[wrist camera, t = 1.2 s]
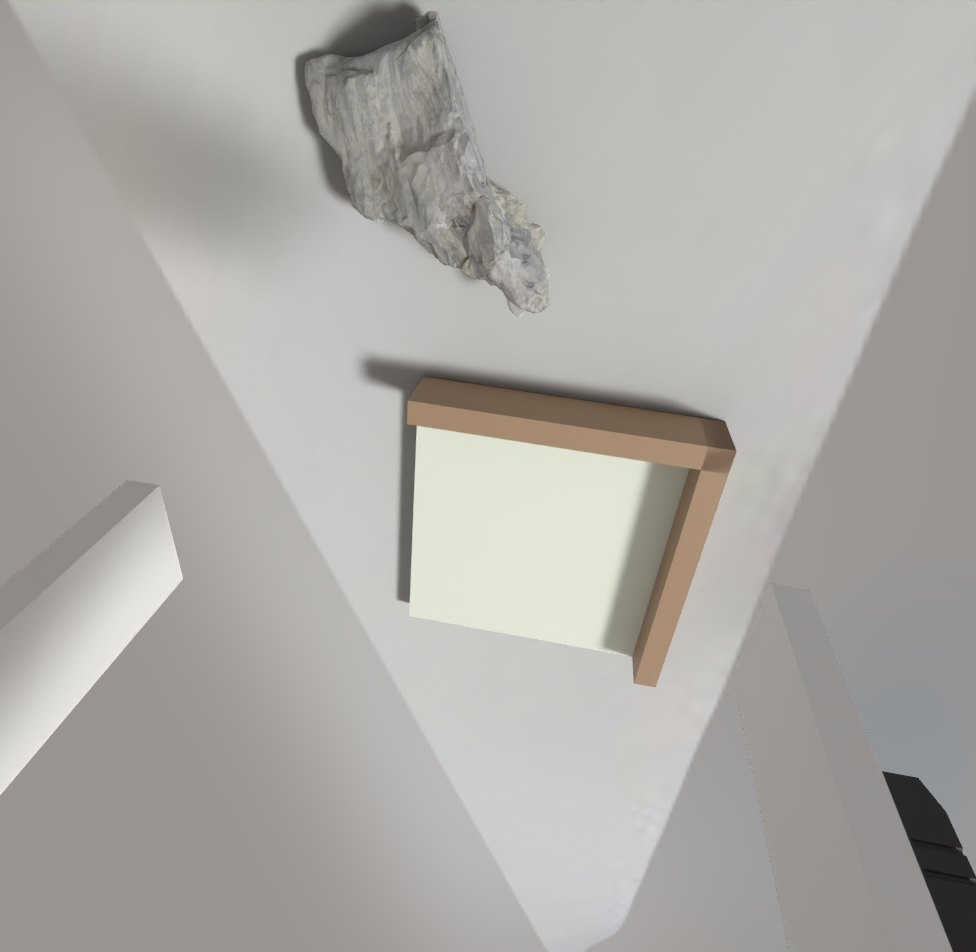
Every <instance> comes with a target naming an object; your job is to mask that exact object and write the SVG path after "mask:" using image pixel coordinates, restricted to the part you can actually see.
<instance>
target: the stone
mask: <svg viewBox="0 0 976 952" xmlns="http://www.w3.org/2000/svg"><path fill="white" fill-rule="evenodd" d="M415 26H416V32H414V33H412V34H411V35H410V36H408V37H406V38H404V39H402V40H399V41H396V42H393V43H390V44H388V45H386V46H383V47H381V48H379V49H378V50H376V51H373V52H371V53H368V54H366V55H363V56H361V57H344V56H340V55H334V54H325V55H323V56H321V57H316V58H312V59H308V60H307V62H306V63H305V64H304V79H305V85H306V88H307V90H308V92H309V95H310V99H311V103H312V114H313V117H314V119H315V121H316V123H317V125H318V131H319V134H320V135H321V136H322V137H323V138H324V139H325V140H326V141H327V143H328V144H329V145H330V146H331V147H332V148H333V149H334V150H335V152H336V153H337V155H338V156H339V158H340V160H341V161H342V170H343V175H344V178H345V182H346V186H347V189H348V192H349V193H350V200H351V203H352V206H353V207H354V208H355V209H356V210H357V211H358V212H359V213H360V214H362V215H363V216H364V217H365V218H367V219H370V220H372V221H376V222H385V221H392V220H395V221H396V223H397V224H398V225H400V226H402V227H404V228H405V229H406V230H407V231H408V232H410V233H412V234H413V235H414V237H415V238H416V240H417V241H418V242H419V243H420V244H421V245H422V246H423V247H424V248H425V249H426V250H427V251H428V252H429V253H432V254H433V255H434V256H435V257H436V258H437V259H439V261H440V262H441V263H443V264H444V265H449V266H452V267H453V268H460V269H461V270H462V272H463V273H464V274H466V275H468V276H470V277H472V278H473V279H479V280H486V281H487V282H488V283H489V284H490V285H495V286H497V287H498V288H499V289H500V290H502V291H503V293H504V295H505V296H506V298H507V303H508V306H509V309H510V311H511V312H512V313H513V314H515V315H516V316H517V317H521V316H522V315H523V313H524V312H525V311H529V312H532V313H536V314H537V313H539V312H541V311H542V310H544V309H545V308H547V307H548V306H549V303H548V302H549V298H548V288H549V287H548V278H549V271H548V269H547V267H546V265H545V264H544V262H543V260H542V257H541V254H540V251H541V249H542V245H543V242H544V239H545V234H544V232H543V230H542V228H541V226H539V225H536V224H534V223H532V222H530V221H528V219H527V215H526V206H525V204H524V201H522V200H520V199H518V198H516V197H514V196H513V195H512V194H511V193H510V192H509V191H503V190H498V189H497V188H496V187H495V185H493V184H491V183H490V181H489V180H488V179H487V176H486V171H485V166H484V161H483V159H482V157H481V154H480V151H479V148H478V146H477V143H476V134H475V128H474V126H473V124H472V121H471V118H470V114H469V110H468V107H467V104H466V101H465V97H464V93H463V90H462V87H461V84H460V81H459V79H458V76H457V72H456V69H455V66H454V64H453V61H452V58H451V56H450V53H449V50H448V48H447V45H446V41H445V37H444V35H443V30H442V26H441V22H440V19H439V15H438V12H435V11H429V12H427V13H426V14H425V15H423V16H419V17H418V18H416V19H415Z"/></svg>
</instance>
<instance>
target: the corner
mask: <svg viewBox="0 0 976 952" xmlns="http://www.w3.org/2000/svg"><path fill="white" fill-rule="evenodd" d="M407 424H409V425H416V426H417V432H416V457H415V482H414V507H413V532H412V557H411V582H410V607H409V616H412V617H417V618H423V619H428V620H434V621H439V622H445V623H450V624H456V625H461V626H467V627H472V628H478V629H483V630H489V631H494V632H500V633H505V634H511V635H516V636H522V637H527V638H533V639H538V640H544V641H549V642H555V643H560V644H566V645H571V646H577V647H582V648H588V649H593V650H599V651H604V652H610V653H615V654H621V655H626V656H632V658H633V676H634V683H635V684H641V685H646V686H652V687H656V684H657V681H658V678H659V675H660V672H661V669H662V667H663V664H664V661H665V658H666V655H667V652H668V649H669V646H670V643H671V640H672V637H673V634H674V632H675V629H676V626H677V623H678V620H679V617H680V614H681V611H682V608H683V605H684V602H685V599H686V597H687V594H688V591H689V588H690V585H691V582H692V579H693V576H694V573H695V570H696V567H697V564H698V562H699V559H700V556H701V553H702V550H703V547H704V544H705V541H706V538H707V535H708V532H709V529H710V527H711V524H712V521H713V518H714V515H715V512H716V509H717V506H718V503H719V500H720V497H721V494H722V492H723V489H724V486H725V483H726V480H727V477H728V474H729V471H730V468H731V465H732V462H733V459H734V457H735V454H736V449H735V446H734V444H733V441H732V438H731V436H730V433H729V431H728V428H727V426H726V423H725V421H719V420H712V419H705V418H699V417H692V416H685V415H679V414H672V413H665V412H659V411H652V410H645V409H638V408H632V407H625V406H618V405H612V404H605V403H598V402H592V401H585V400H578V399H572V398H565V397H558V396H552V395H545V394H538V393H532V392H525V391H518V390H512V389H505V388H498V387H492V386H485V385H478V384H472V383H465V382H458V381H452V380H445V379H438V378H431V377H425V376H423V378H422V379H421V381H420V382H419V384H418V385H417V387H416V388H415V390H414V391H413V393H412V395H411V396H410V398H409V399H408V403H407Z"/></svg>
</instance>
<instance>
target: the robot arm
mask: <svg viewBox="0 0 976 952" xmlns="http://www.w3.org/2000/svg"><path fill="white" fill-rule="evenodd" d="M182 579H183V577H182V573H181V569H180V565H179V561H178V557H177V553H176V549H175V545H174V541H173V537H172V533H171V529H170V525H169V521H168V517H167V513H166V509H165V505H164V502H163V498H162V494H161V490H160V486H159V485H154V484H148V483H142V482H135V481H129V480H127V481H125V482H124V483H123V484H122V485H121V486H119V487H118V488H117V489H116V490H115V491H113V492H112V493H111V494H110V495H109V496H108V497H106V498H105V499H104V500H103V501H102V502H100V503H99V504H98V505H97V506H96V507H95V508H93V509H92V510H91V511H90V512H88V513H87V514H86V515H85V516H84V517H83V518H81V519H80V520H79V521H78V522H77V523H75V524H74V525H73V526H72V527H71V528H70V529H68V530H67V531H66V532H65V533H63V534H62V535H61V536H60V537H59V538H58V539H56V540H55V541H54V542H53V543H52V544H50V545H49V546H48V547H47V548H46V549H44V550H43V551H42V552H41V553H40V554H38V555H37V556H36V557H35V558H34V559H33V560H31V561H30V562H29V563H28V564H27V565H25V566H24V567H23V568H22V569H21V570H20V571H18V572H17V573H16V574H15V575H14V576H12V577H11V578H10V579H9V580H8V581H6V582H5V583H4V584H3V585H2V586H1V587H0V795H1V794H2V792H3V791H4V790H5V789H6V788H7V786H8V785H9V784H10V783H11V782H12V781H13V779H14V778H15V777H16V776H17V775H18V773H19V772H20V771H21V770H22V768H24V766H25V765H26V764H27V763H28V762H29V760H30V759H31V758H32V757H33V756H34V754H35V753H36V752H37V751H38V750H39V749H40V747H41V746H42V745H43V744H44V743H45V741H46V740H47V739H48V738H49V737H50V736H51V734H52V733H53V732H54V731H55V730H56V728H57V727H58V726H59V725H60V724H61V723H62V721H63V720H64V719H65V718H66V717H67V715H68V714H69V713H70V712H71V711H72V710H73V708H74V707H75V706H76V705H77V703H78V702H79V701H80V700H81V699H82V698H83V696H84V695H85V694H86V693H87V692H88V691H89V689H90V688H91V687H92V686H93V685H94V683H95V682H96V681H97V680H98V679H99V678H100V676H101V675H102V674H103V673H104V672H105V671H106V669H107V668H108V667H109V665H111V663H112V662H113V661H114V660H115V659H116V657H117V656H118V655H119V654H120V653H121V652H122V650H123V649H124V648H125V647H126V646H127V644H128V643H129V642H130V641H131V640H132V638H133V637H134V636H135V635H136V634H137V633H138V631H139V630H140V629H141V628H142V627H143V626H144V624H145V623H146V622H147V621H148V620H149V618H150V617H151V616H152V615H153V614H154V613H155V611H156V610H157V609H158V608H159V607H160V605H161V604H162V603H163V602H164V601H165V600H166V598H167V597H168V596H169V595H170V594H171V592H172V591H173V590H174V589H175V588H176V586H177V585H178V584H179V583H180V582H181V581H182ZM732 677H733V682H734V687H735V692H736V697H737V702H738V706H739V711H740V716H741V721H742V725H743V730H744V736H745V741H746V745H747V750H748V755H749V760H750V765H751V769H752V774H753V779H754V784H755V789H756V794H757V799H758V803H759V808H760V813H761V818H762V823H763V827H764V833H765V837H766V842H767V847H768V852H769V857H770V861H771V866H772V871H773V876H774V880H775V886H776V891H777V895H778V900H779V905H780V910H781V915H782V920H783V925H784V929H785V934H786V939H787V944H788V949H789V952H976V876H975V874H974V872H973V870H972V867H971V866H970V863H969V861H968V859H967V857H966V856H964V855H963V853H962V849H963V848H962V846H961V843H960V841H959V839H958V837H957V835H956V833H955V830H954V828H953V826H952V824H951V822H950V820H949V817H948V815H947V813H946V811H945V810H944V809H943V808H942V806H941V805H940V804H939V803H938V802H937V800H936V799H935V798H934V797H933V796H932V794H931V793H930V792H929V791H928V789H927V788H926V787H925V786H924V785H923V783H922V782H921V781H920V780H919V779H918V778H916V777H910V776H905V775H899V774H894V773H889V772H883V771H881V768H880V765H879V763H878V760H877V758H876V755H875V753H874V750H873V748H872V745H871V742H870V740H869V737H868V735H867V732H866V730H865V728H864V725H863V722H862V720H861V717H860V715H859V712H858V709H857V707H856V705H855V702H854V699H853V697H852V694H851V692H850V689H849V687H848V684H847V682H846V679H845V676H844V674H843V671H842V669H841V666H840V664H839V661H838V659H837V656H836V653H835V651H834V649H833V646H832V643H831V641H830V638H829V636H828V633H827V631H826V628H825V626H824V623H823V620H822V618H821V615H820V613H819V610H818V608H817V605H816V603H815V601H814V598H813V595H812V593H811V590H809V589H802V588H796V587H790V586H783V585H778V584H771V585H770V587H769V589H768V592H767V594H766V596H765V599H764V601H763V603H762V606H761V608H760V610H759V613H758V615H757V617H756V620H755V622H754V624H753V627H752V629H751V631H750V634H749V636H748V638H747V641H746V643H745V645H744V648H743V650H742V652H741V654H740V657H739V659H738V661H737V664H736V666H735V668H734V671H733V673H732Z"/></svg>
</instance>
